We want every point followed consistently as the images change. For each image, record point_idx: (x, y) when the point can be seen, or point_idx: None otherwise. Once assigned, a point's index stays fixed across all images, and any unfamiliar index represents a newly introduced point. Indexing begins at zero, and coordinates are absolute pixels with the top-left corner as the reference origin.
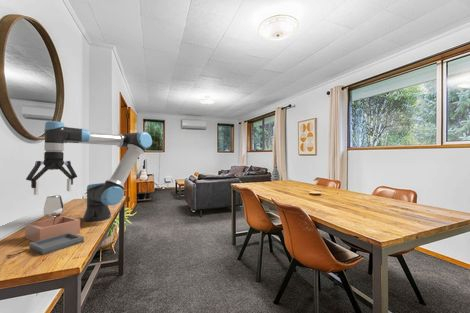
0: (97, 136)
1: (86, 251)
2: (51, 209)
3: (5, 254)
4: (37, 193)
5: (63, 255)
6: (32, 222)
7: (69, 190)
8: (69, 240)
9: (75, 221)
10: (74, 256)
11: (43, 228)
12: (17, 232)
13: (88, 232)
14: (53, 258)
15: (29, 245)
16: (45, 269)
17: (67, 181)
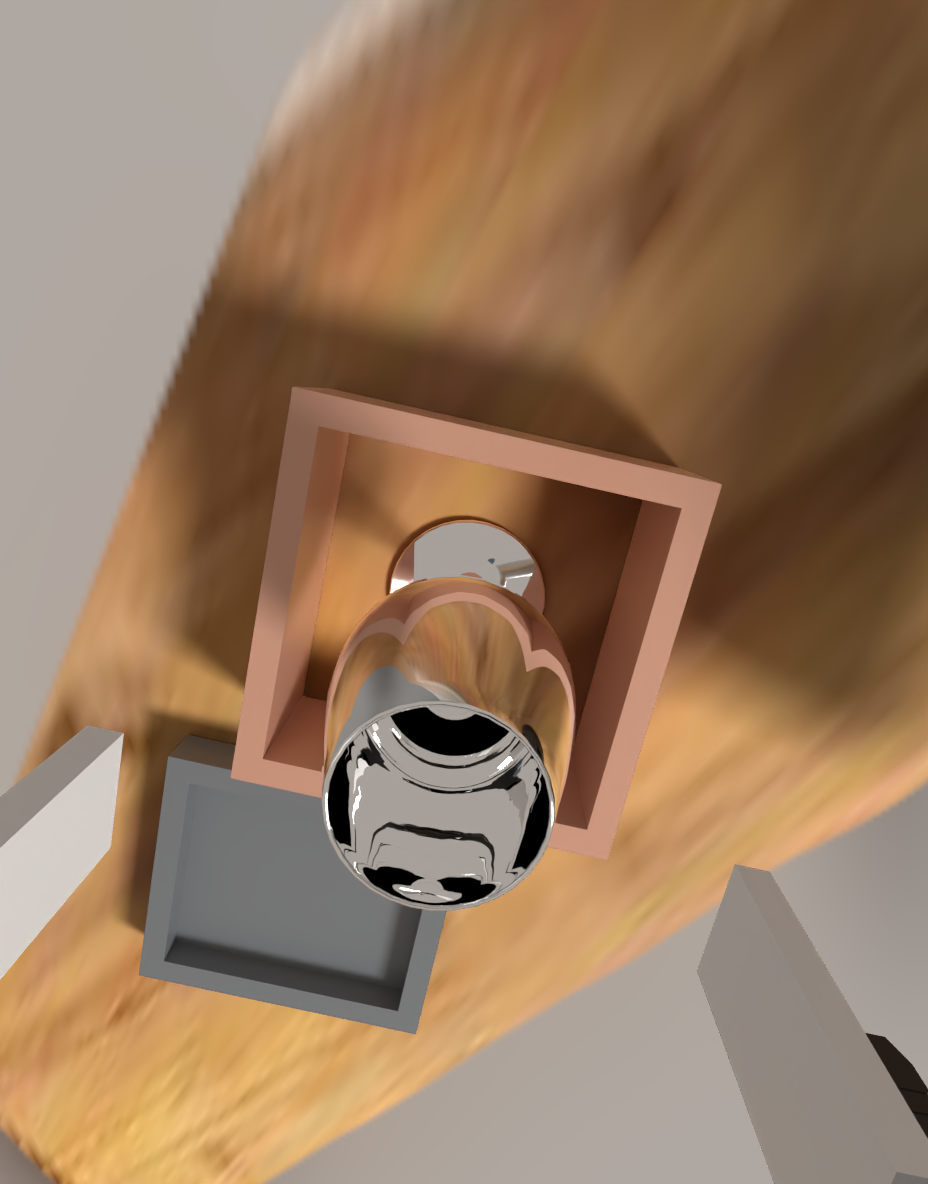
0: None
1: (302, 1142)
2: (364, 787)
3: (61, 676)
4: (84, 861)
5: (208, 1064)
6: (360, 406)
7: (706, 987)
8: (319, 1000)
9: (557, 845)
10: (223, 1134)
11: (260, 783)
12: (423, 41)
13: (620, 841)
14: (157, 1047)
15: (176, 748)
16: (58, 1129)
17: (834, 1114)
